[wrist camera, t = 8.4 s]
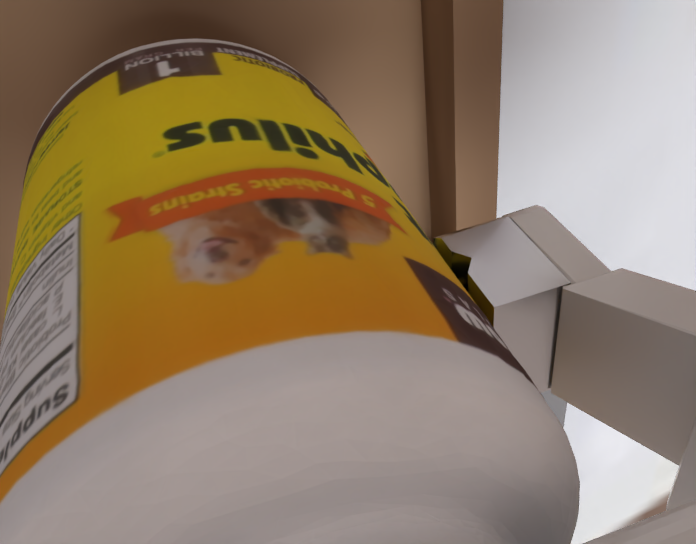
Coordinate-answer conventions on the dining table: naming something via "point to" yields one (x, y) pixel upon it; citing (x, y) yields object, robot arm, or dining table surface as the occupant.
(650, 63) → the dining table surface
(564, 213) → the dining table surface
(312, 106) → the supplement bottle
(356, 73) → the walnut tray
